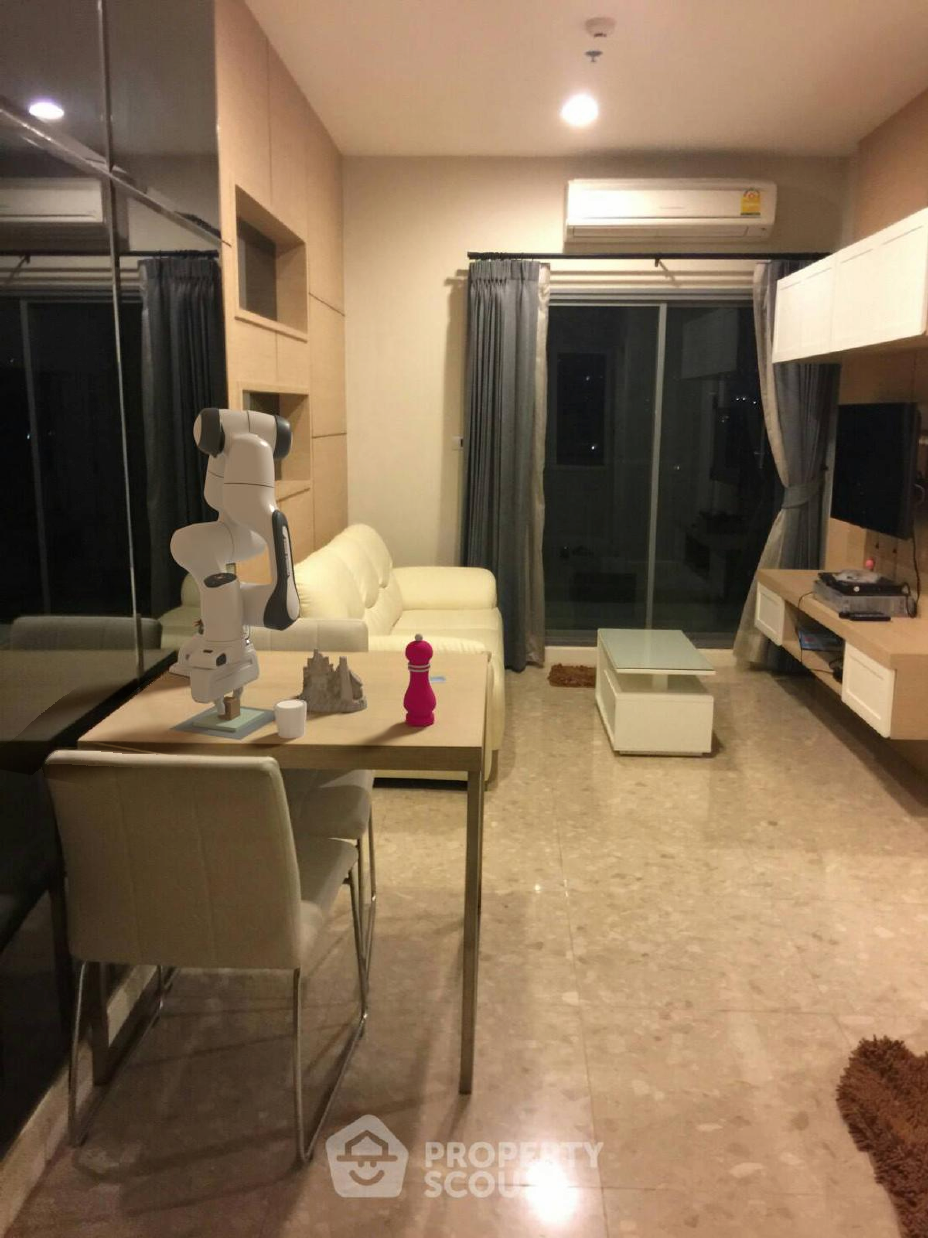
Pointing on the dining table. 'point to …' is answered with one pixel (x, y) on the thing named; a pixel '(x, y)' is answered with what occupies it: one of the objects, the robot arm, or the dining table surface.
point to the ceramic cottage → (331, 686)
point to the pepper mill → (419, 684)
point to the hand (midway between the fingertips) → (229, 710)
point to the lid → (230, 717)
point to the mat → (237, 735)
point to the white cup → (291, 718)
